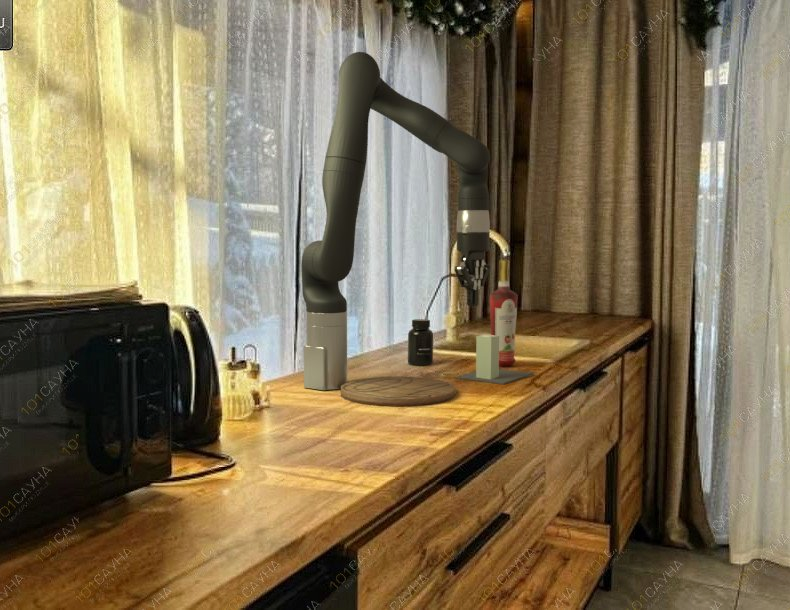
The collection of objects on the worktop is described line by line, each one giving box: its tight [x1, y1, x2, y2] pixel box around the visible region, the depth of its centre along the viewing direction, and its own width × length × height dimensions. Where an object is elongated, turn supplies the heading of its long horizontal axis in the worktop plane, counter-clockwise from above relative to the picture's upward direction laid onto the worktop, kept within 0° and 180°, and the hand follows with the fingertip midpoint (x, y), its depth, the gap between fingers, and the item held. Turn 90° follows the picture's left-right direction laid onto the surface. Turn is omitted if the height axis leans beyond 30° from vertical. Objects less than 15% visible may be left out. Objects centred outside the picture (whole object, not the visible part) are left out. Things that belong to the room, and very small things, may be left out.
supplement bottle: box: [407, 318, 434, 367], centre depth 203 cm, size 7×7×12 cm
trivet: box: [340, 375, 457, 408], centre depth 164 cm, size 25×25×2 cm
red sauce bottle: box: [489, 259, 519, 368], centre depth 200 cm, size 7×7×28 cm
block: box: [475, 334, 500, 379], centre depth 182 cm, size 4×4×10 cm
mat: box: [455, 368, 535, 385], centre depth 185 cm, size 16×13×1 cm
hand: (472, 305), depth 174 cm, fingers closed
